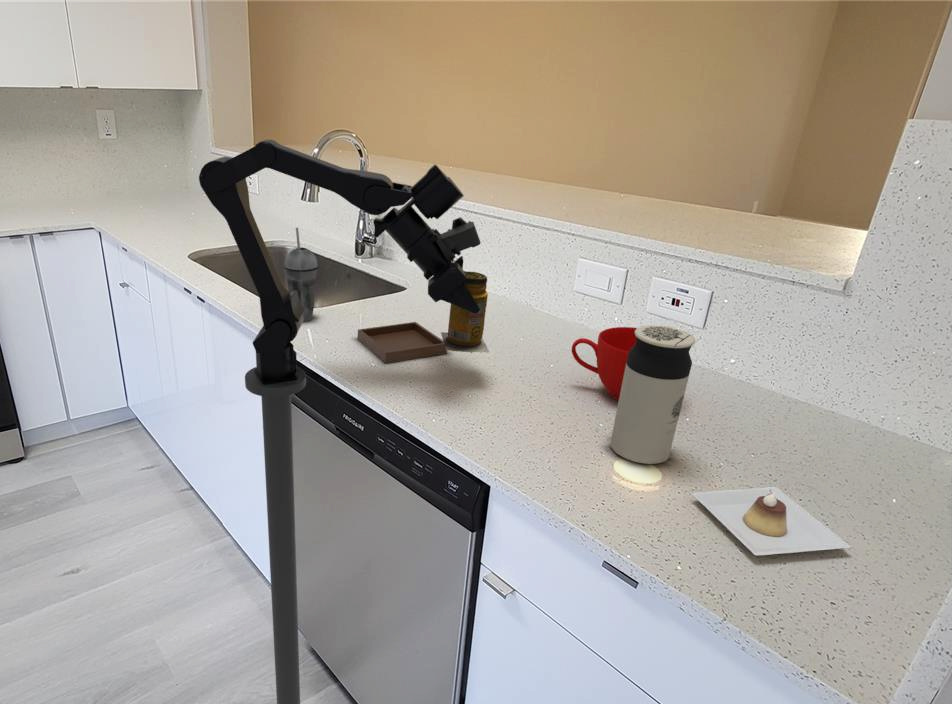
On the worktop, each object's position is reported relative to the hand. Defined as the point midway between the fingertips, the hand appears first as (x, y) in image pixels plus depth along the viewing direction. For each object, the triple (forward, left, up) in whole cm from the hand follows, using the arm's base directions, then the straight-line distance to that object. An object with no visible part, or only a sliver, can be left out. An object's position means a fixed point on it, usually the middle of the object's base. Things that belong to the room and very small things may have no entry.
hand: (476, 305), depth 110 cm
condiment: (-2, 0, -7) cm, 7 cm away
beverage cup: (-18, +40, -13) cm, 46 cm away
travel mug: (+9, -31, -13) cm, 35 cm away
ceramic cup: (+20, -15, -13) cm, 28 cm away
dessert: (+10, -50, -13) cm, 53 cm away
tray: (-5, +17, -13) cm, 22 cm away
